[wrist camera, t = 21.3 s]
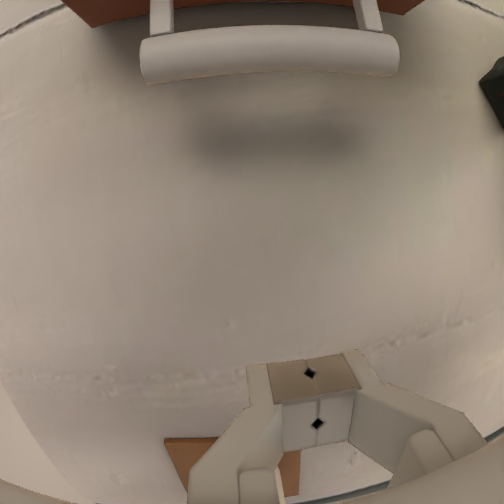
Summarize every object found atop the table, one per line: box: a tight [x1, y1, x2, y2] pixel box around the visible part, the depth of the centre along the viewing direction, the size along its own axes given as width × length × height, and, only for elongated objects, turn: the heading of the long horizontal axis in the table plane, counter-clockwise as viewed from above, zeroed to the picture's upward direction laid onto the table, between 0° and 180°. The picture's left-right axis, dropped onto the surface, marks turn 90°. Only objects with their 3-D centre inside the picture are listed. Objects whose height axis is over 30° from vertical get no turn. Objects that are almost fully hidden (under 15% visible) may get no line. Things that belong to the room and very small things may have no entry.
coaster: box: [164, 438, 300, 497], centre depth 17 cm, size 8×8×1 cm
